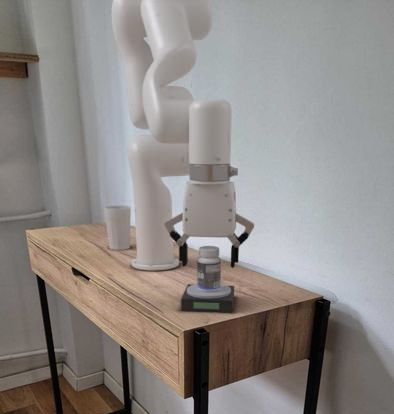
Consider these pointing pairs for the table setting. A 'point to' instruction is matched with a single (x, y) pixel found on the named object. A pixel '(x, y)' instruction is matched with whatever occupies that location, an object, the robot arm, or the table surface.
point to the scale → (208, 299)
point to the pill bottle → (208, 269)
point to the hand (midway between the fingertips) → (208, 265)
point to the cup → (118, 226)
